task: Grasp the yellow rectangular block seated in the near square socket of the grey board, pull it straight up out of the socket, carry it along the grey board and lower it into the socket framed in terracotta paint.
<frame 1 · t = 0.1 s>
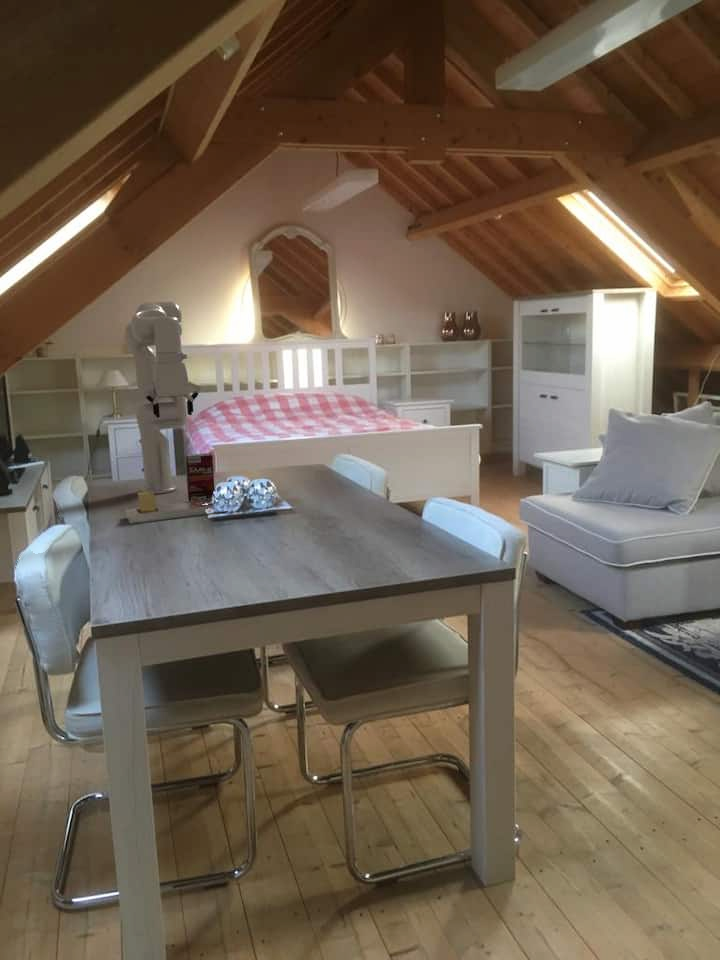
hand: (173, 416, 245), 31 cm above the table, fingers open, 9 cm apart
grey board: (177, 514, 253), on the table
yellow rectangular block: (148, 518, 250), resting in grey board
supplement box: (202, 502, 271), on the table
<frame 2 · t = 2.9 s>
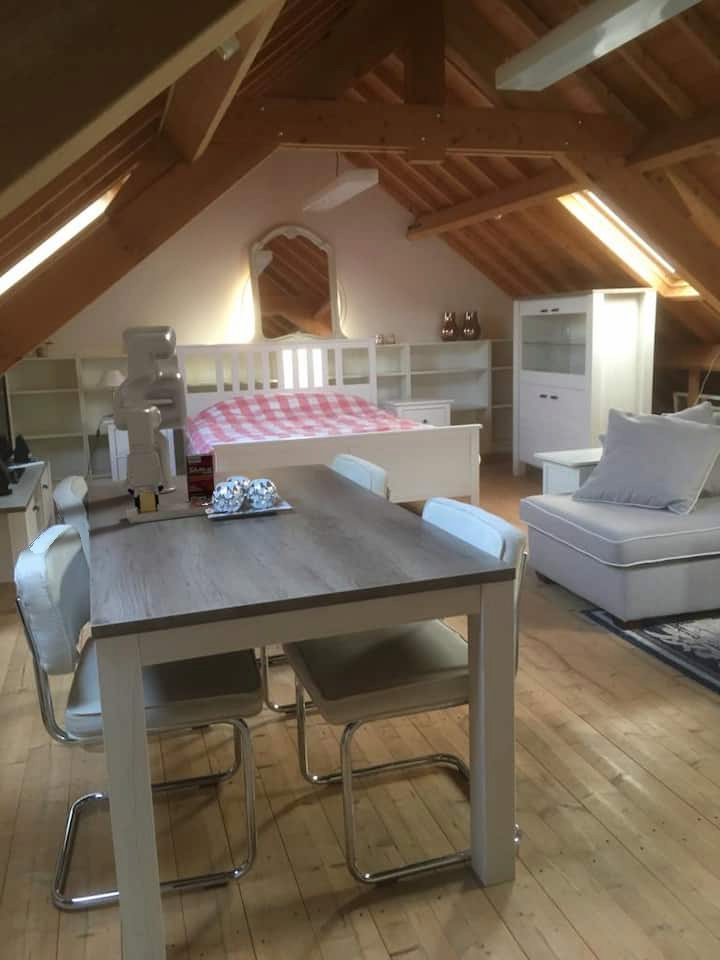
hand: (147, 507, 249), 3 cm above the table, fingers closed on yellow rectangular block, 4 cm apart
yellow rectangular block: (148, 518, 250), resting in grey board, touching gripper
everything else where it was.
when the fingers open (5 cm above the table, at t = 8.4 s): yellow rectangular block drops 1 cm, resting in grey board.
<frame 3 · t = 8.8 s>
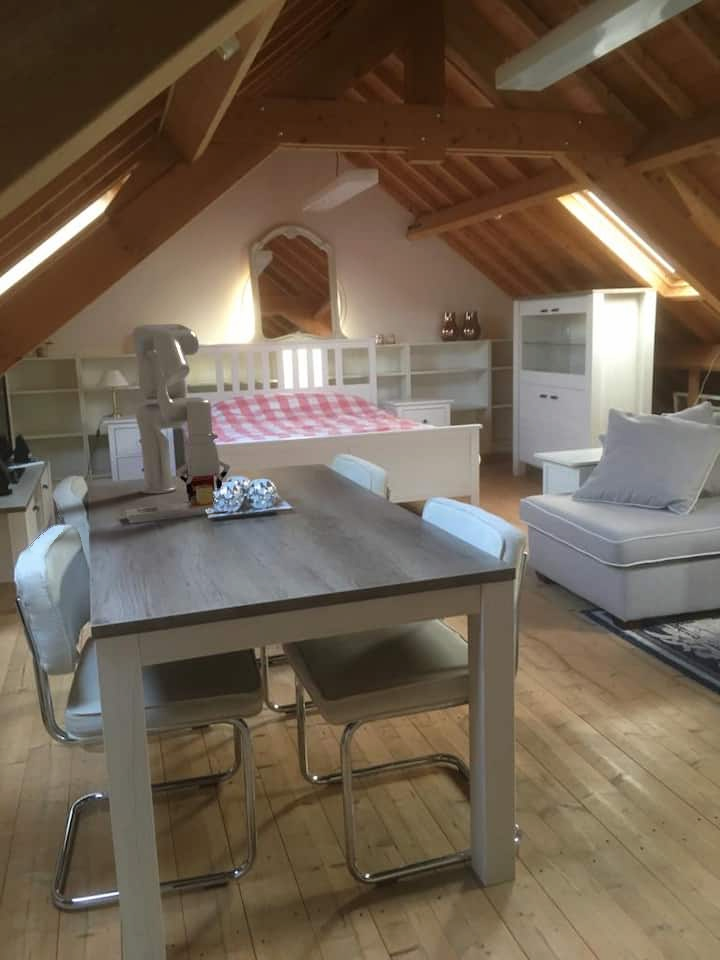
hand: (204, 493, 255), 6 cm above the table, fingers open, 8 cm apart
yellow rectangular block: (206, 511, 256), resting in grey board
everything else where it was.
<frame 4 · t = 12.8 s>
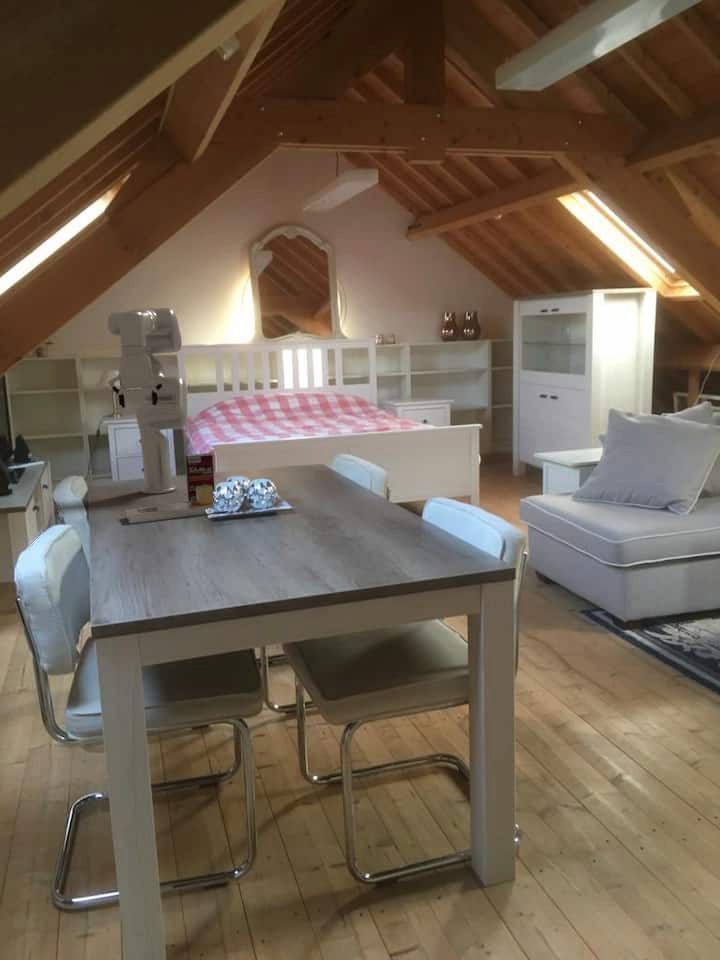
hand: (138, 406, 257), 33 cm above the table, fingers open, 9 cm apart
nothing on the table moved.
at the end: yellow rectangular block 0.0 cm from the target spot on the grey board, point 0.0 cm above the grey board's base; yellow rectangular block tilted 0°; the gripper is holding nothing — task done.
